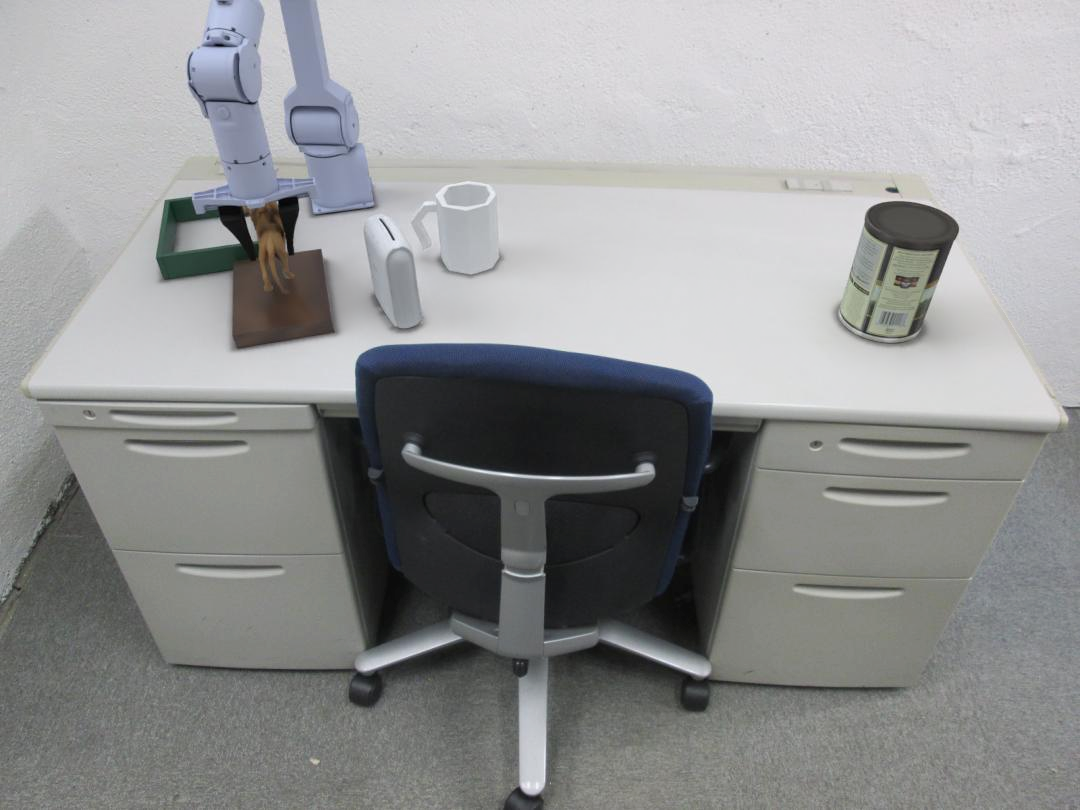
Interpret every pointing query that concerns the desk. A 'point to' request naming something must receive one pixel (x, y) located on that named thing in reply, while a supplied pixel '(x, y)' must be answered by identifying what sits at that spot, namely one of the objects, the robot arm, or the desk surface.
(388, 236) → the photo printer
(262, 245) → the lion figurine
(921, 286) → the coffee can
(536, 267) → the desk surface
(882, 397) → the desk surface
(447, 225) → the mug
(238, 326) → the stand
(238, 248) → the storage box
